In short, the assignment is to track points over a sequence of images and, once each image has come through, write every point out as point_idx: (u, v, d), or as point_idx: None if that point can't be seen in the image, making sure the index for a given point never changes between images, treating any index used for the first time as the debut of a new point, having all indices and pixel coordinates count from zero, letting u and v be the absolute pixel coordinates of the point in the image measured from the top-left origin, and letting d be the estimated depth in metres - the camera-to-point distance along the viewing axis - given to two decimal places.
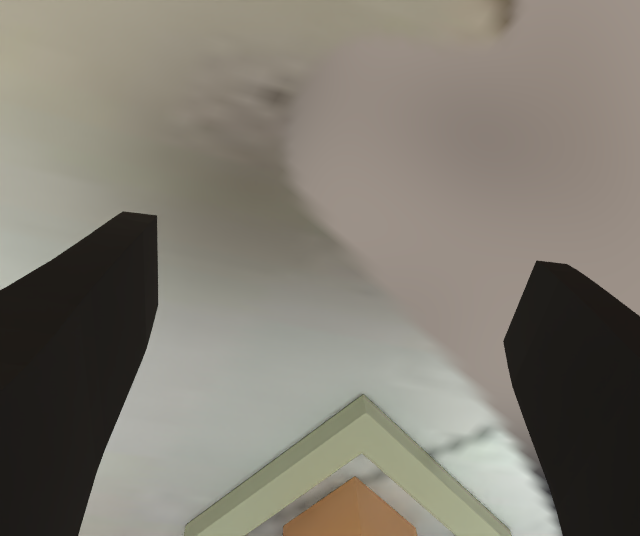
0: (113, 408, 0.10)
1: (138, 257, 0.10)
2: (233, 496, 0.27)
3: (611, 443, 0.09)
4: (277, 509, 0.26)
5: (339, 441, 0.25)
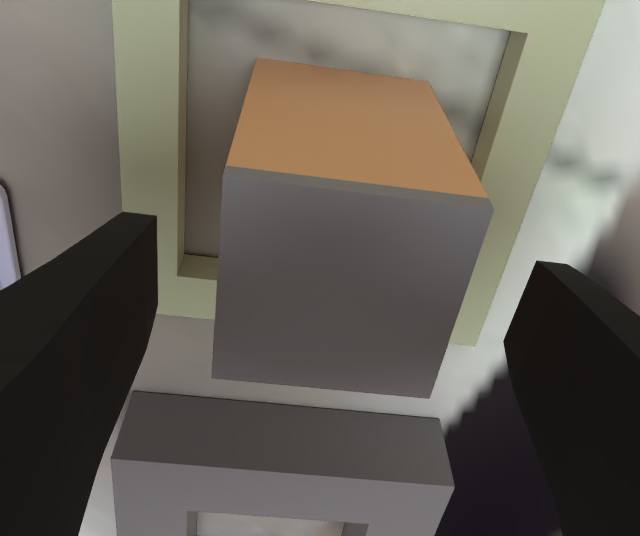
0: (113, 408, 0.10)
1: (138, 257, 0.10)
2: None
3: (611, 443, 0.09)
4: None
5: None
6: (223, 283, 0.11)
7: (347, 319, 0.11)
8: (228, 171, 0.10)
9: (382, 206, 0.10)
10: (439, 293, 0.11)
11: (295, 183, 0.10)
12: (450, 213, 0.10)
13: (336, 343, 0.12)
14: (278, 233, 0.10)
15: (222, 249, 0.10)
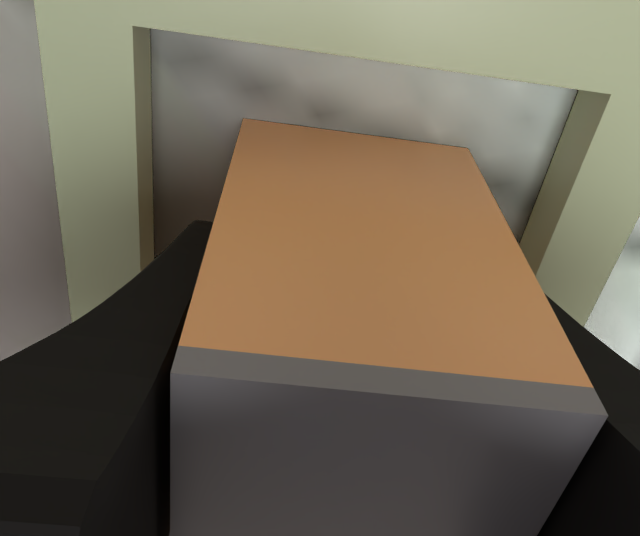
0: None
1: None
2: None
3: None
4: (333, 46, 0.10)
5: (624, 23, 0.10)
6: (180, 503, 0.07)
7: None
8: (181, 360, 0.06)
9: (429, 412, 0.06)
10: (509, 515, 0.07)
11: (289, 380, 0.06)
12: (537, 421, 0.06)
13: None
14: (263, 445, 0.06)
15: (176, 463, 0.07)
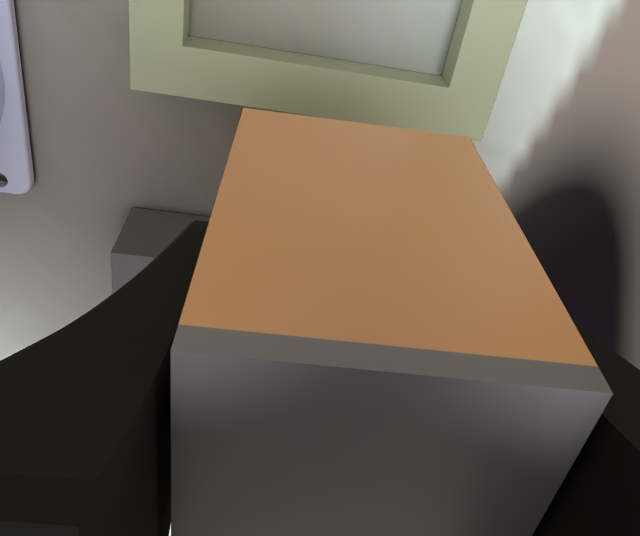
0: None
1: None
2: None
3: None
4: None
5: None
6: (181, 486, 0.07)
7: (370, 527, 0.07)
8: (181, 338, 0.06)
9: (432, 391, 0.06)
10: (514, 499, 0.07)
11: (291, 358, 0.06)
12: (541, 399, 0.06)
13: None
14: (264, 426, 0.06)
15: (177, 445, 0.07)
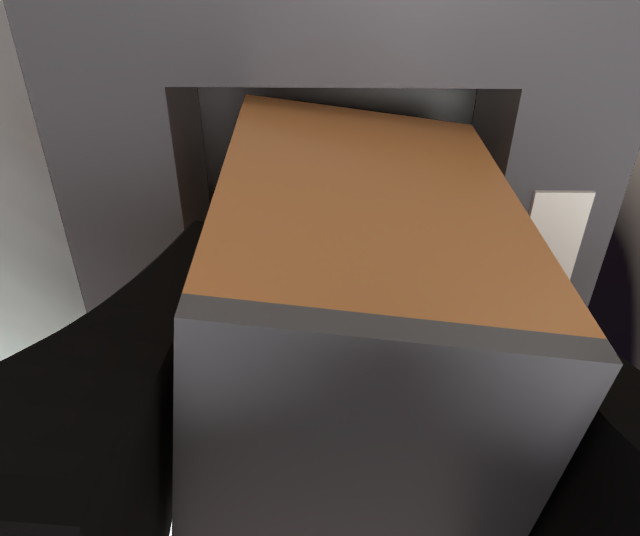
0: None
1: None
2: None
3: None
4: None
5: None
6: (183, 463, 0.07)
7: (375, 507, 0.07)
8: (185, 306, 0.06)
9: (440, 361, 0.06)
10: (521, 476, 0.07)
11: (296, 327, 0.06)
12: (550, 370, 0.06)
13: None
14: (267, 398, 0.06)
15: (179, 419, 0.07)
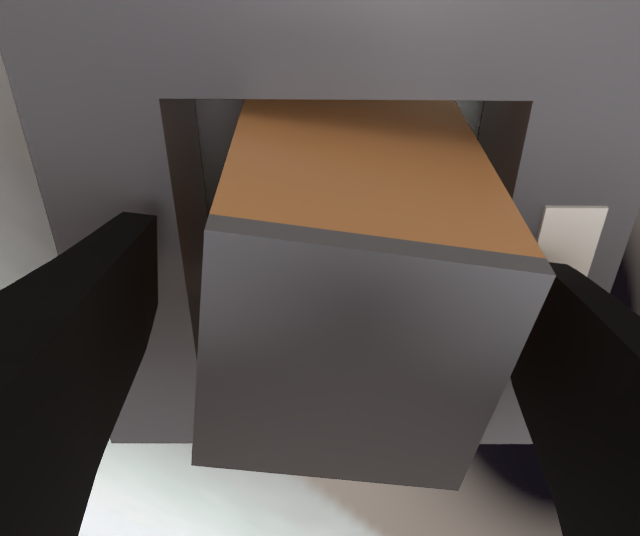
0: (113, 408, 0.10)
1: (138, 257, 0.10)
2: None
3: (611, 443, 0.09)
4: None
5: None
6: (205, 358, 0.09)
7: (360, 401, 0.09)
8: (212, 222, 0.07)
9: (411, 270, 0.08)
10: (479, 374, 0.09)
11: (299, 240, 0.07)
12: (499, 279, 0.08)
13: (345, 427, 0.09)
14: (276, 300, 0.08)
15: (204, 318, 0.08)
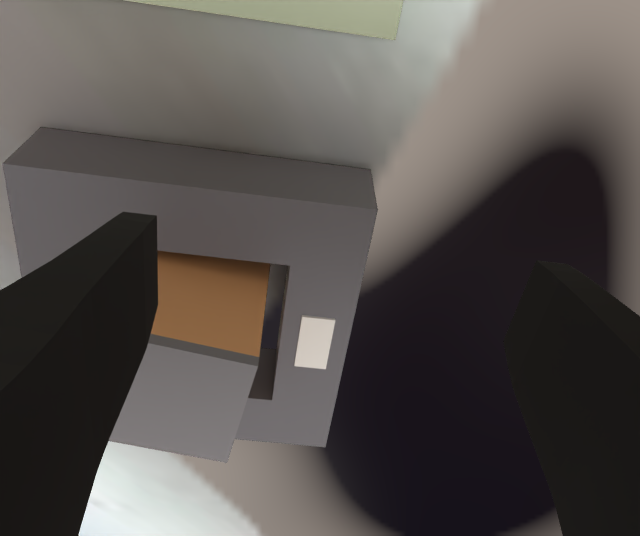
0: (113, 408, 0.10)
1: (138, 257, 0.10)
2: None
3: (611, 443, 0.09)
4: None
5: None
6: None
7: (173, 412, 0.18)
8: None
9: (193, 358, 0.17)
10: (229, 405, 0.18)
11: None
12: (232, 365, 0.17)
13: (167, 425, 0.19)
14: None
15: None
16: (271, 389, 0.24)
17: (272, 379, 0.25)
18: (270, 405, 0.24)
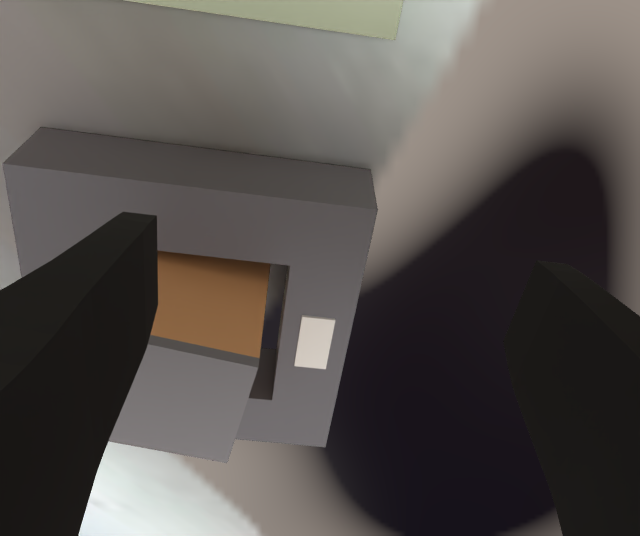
0: (113, 408, 0.10)
1: (138, 257, 0.10)
2: None
3: (611, 443, 0.09)
4: None
5: None
6: None
7: (173, 413, 0.19)
8: None
9: (193, 359, 0.17)
10: (229, 406, 0.18)
11: None
12: (233, 366, 0.17)
13: (167, 425, 0.19)
14: None
15: None
16: (271, 389, 0.24)
17: (272, 379, 0.25)
18: (270, 405, 0.24)
